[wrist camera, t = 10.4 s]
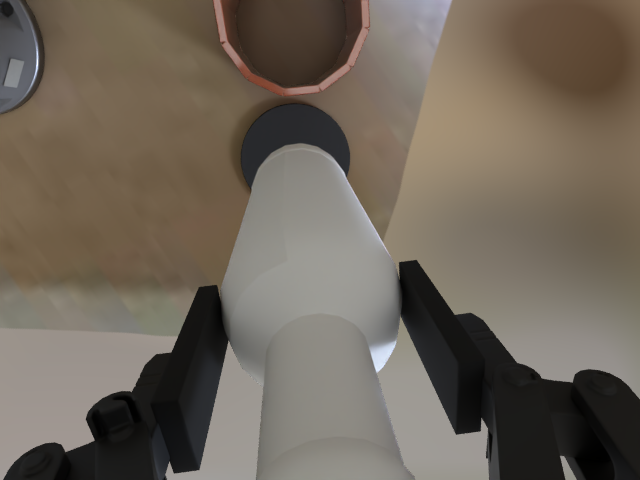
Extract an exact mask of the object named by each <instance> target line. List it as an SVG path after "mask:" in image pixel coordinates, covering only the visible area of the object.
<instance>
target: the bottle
mask: <svg viewBox="0 0 640 480" xmlns="http://www.w3.org/2000/svg"><path fill="white" fill-rule="evenodd" d="M220 294H221V314H222V321H223V325H224V329H225V332H226V335H227V337H228V339H229V342H230V344H231V347H232V349H233V351H234V353H235V355H236V357H237V359H238V361H239V363H240V365H241V367H242V369H243V370H244V371H245V372H246V373H248V374H249V375H250V376H251V377H252V378H253V379H254V380H255V381H256V382H258V384H260V385H261V386H263V401H262V412H261V424H260V437H259V450H258V462H257V475H256V480H415V478H414V476H413V475H412V474H411V472H410V471H409V470H408V469H407V468H406V467H405V466H404V463H403V460H402V456H401V453H400V450H399V447H398V443H397V440H396V436H395V433H394V430H393V426H392V423H391V420H390V416H389V413H388V409H387V406H386V403H385V399H384V396H383V393H382V389H381V386H380V383H379V379H378V376H377V372H378V371H379V370H381V369H382V368H383V366H384V365H385V363H386V361H387V360H388V358H389V356H390V354H391V353H392V351H393V349H394V347H395V346H396V341H397V335H398V329H399V321H400V314H401V307H402V288H401V284H400V280H399V276H398V273H397V269H396V265H395V263H394V261H393V259H392V258H391V256H390V254H389V253H388V251H387V249H386V247H385V245H384V244H383V242H382V240H381V238H380V237H379V235H378V233H377V231H376V230H375V228H374V226H373V224H372V223H371V221H370V219H369V217H368V216H367V214H366V212H365V211H364V209H363V207H362V205H361V204H360V202H359V200H358V198H357V197H356V195H355V193H354V191H353V190H352V188H351V186H350V184H349V183H348V181H347V179H346V176H345V173H344V171H343V170H342V169H341V167H340V166H339V165H338V163H337V162H336V161H335V159H334V158H333V157H332V156H331V155H330V154H328V153H326V152H325V151H323V150H322V149H320V148H319V147H317V146H312V145H308V144H303V143H299V144H292V145H285V146H283V147H282V148H280V149H278V150H276V151H274V152H272V153H271V154H270V155H269V156H268V157H267V158H266V160H265V161H264V162H263V163H262V164H261V166H260V167H259V169H258V171H257V174H256V176H255V179H254V182H253V185H252V192H251V195H250V198H249V202H248V205H247V208H246V211H245V214H244V217H243V221H242V224H241V227H240V230H239V233H238V236H237V239H236V243H235V246H234V249H233V252H232V255H231V258H230V261H229V265H228V268H227V271H226V274H225V277H224V280H223V284H222V287H221V290H220Z"/></svg>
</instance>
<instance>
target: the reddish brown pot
mask: <svg viewBox="0 0 640 480" xmlns="http://www.w3.org/2000/svg"><path fill="white" fill-rule="evenodd" d="M342 1H343V3H344V5H345V20H346V35H347V37H346V40H345V42H344V44H343V47H342V49H341V51H340V54H339V56H338V58H337V61H336V63H335V65H334V66H333V67H332V68H331V69H329V70H328V71H327V72H325V73H324V74H323V75H322V76H320V77H319V78H318V79H316V80H315V81H314V82H312V83H306V84H296V85H287V86H284V85H282V84H280V83H278V82H276V81H274V80H272V79H269V78H267V77H265V76H263V75H261V74H259V73H258V72H257V70H256V69H255V68H254V66H253V65H252V63H251V62H250V61H249V59H248V58H247V57H246V55H245V54H244V52H243V51H242V50H241V48H240V42H239V36H238V29H237V23H236V17H235V15H236V12H237V9H238V6H239V3H240V0H213V5H214V11H215V17H216V23H217V28H218V34H219V40H220V43H222V45H221V46H222V47H223V49H224V50H225V51H226V53H227V54H228V55H229V57H230V58H231V59H232V61H233V62H234V63H235V65H236V66H237V68H238V69H239V70H240V72H241V73H242V74H243V76H244V77H245V78H248V81H250V82H253V83H255V84H257V85H259V86H261V87H263V88H265V89H267V90H270V91H272V92H274V93H276V94H278V95H280V96H282V95H283V94H284V96H293V95H303V94H312V93H319V92H320V91H324V90H325V89H326V88H328V87H329V86H330V85H331V84H333V83H334V82H335V81H337V80H338V79H339V78H341V77H342V76H343V75H344V74H346V73H347V72H348V71H350V70H351V67H353V66H354V64H355V62H356V59H357V57H358V55H359V53H360V50H361V48H362V46H363V43H364V41H365V39H366V37H367V34H368V32H369V29H367V28H369V27H370V18H369V0H342Z"/></svg>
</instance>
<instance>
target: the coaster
mask: <svg viewBox="0 0 640 480" xmlns="http://www.w3.org/2000/svg"><path fill="white" fill-rule="evenodd" d="M299 143H303V144H308V145H312V146H317V147H319V148H320V149H322V150H323V151H325V152H326V153H328V154H330V155H331V156H332V157H333V158H334V159H335V161H336V162H337V163H338V165H339V166H340V167H341V169H342V170H343V171H344V173H345V176H346V177H347V175H348V171H349V165H350V152H349V146H348V143H347V140H346V137H345V135H344V133H343V131H342V130H341V128H340V127H339V125H338V124H337V123H336V122H335V121H334V120H333V119H332V118H331V117H330V116H329V115H328V114H326V113H325V112H323V111H321V110H320V109H318V108H315V107H313V106H309V105H305V104H297V103H295V104H285V105H280V106H277V107H274V108H272V109H270V110H268V111H267V112H265V113H264V114H262V115H261V116H260V117H259V118H258V119H257V120H256V121H255V122H254V123H253V124H252V126H251V127H250V129H249V130H248V132H247V134H246V136H245V138H244V142H243V145H242V151H241V165H242V170H243V174H244V177H245V179H246V182H247V183H248V185H249V187H250V188H251V190H252V185H253V182H254V179H255V176H256V174H257V171H258V169H259V167H260V166H261V164H262V163H263V162H264V161H265V160H266V158H267V157H268V156H269V155H270V154H271V153H272V152H274V151H276V150H278V149H280V148H282V147H283V146H285V145H292V144H299Z"/></svg>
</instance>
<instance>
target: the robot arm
mask: <svg viewBox="0 0 640 480" xmlns="http://www.w3.org/2000/svg"><path fill="white" fill-rule="evenodd" d="M43 68H44V47H43V41H42V37H41V33H40V30H39V27H38V24H37V22H36V19H35V17H34V15H33V13H32V11H31V9H30V8H29V6H28V5H27V3H26V1H25V0H0V114H3V113H7V112H9V111H12V110H14V109H16V108H18V107H20V106H21V105H23V104H24V103H25V102H26V101H27V100H28V99H29V98H30V97H31V96H32V95H33V93H34V92H35V90H36V89H37V87H38V85H39V83H40V80H41V77H42V73H43ZM399 274H400V275H399V276H400V284H401V288H402V307H401V318H402V320H403V322H404V324H405V326H406V328H407V331H408V333H409V335H410V337H411V339H412V341H413V343H414V346H415V348H416V350H417V352H418V354H419V356H420V358H421V361H422V363H423V365H424V367H425V369H426V371H427V373H428V376H429V378H430V380H431V382H432V384H433V386H434V388H435V391H436V393H437V395H438V397H439V399H440V401H441V403H442V406H443V408H444V410H445V412H446V414H447V416H448V418H449V421H450V423H451V425H452V427H453V429H454V431H455V433H456V435H457V434H464V433H471V432H478V431H481V417H482V419H483V421H484V422H485V424H486V426H487V428H488V438H487V451H486V458H488V463H489V480H565V476H564V472H563V467H562V463H561V459H560V456H565V458H566V460H567V462H568V464H569V466H570V468H571V470H572V471H573V473H574V475H575V477H576V479H577V480H640V399H639V398H638V397H637V396H636V394H635V393H634V392H633V391H632V390H631V389H630V387H629V386H628V385H627V384H626V383H624V382H623V381H622V380H621V379H619V378H618V377H616V376H614V375H612V374H610V373H606V372H603V371H600V370H591V369H588V370H582V371H579V372H578V373H576V374H575V376H574V380H573V383H571V382H562V381H553V380H547V379H542V378H541V376H540V375H539V374H538V373H537V372H536V371H535V370H534V369H532V368H530V367H528V366H526V365H523V364H519V363H517V362H516V361H515V360H514V358H513V357H512V356H511V355H510V353H509V352H508V351H507V350H506V348H505V347H504V346H503V345H502V343H501V342H500V341H499V340H498V338H496V336H495V335H494V333H493V332H492V331H490V329H489V327H488V326H487V324H486V323H485V322H484V321H483V320H482V319H480V318H479V317H477V316H476V315H474V314H472V313H466V314H458V315H454V313H453V312H452V310H451V309H450V308H449V306H448V305H447V303H446V302H445V300H444V299H443V297H442V296H441V295H440V293H439V292H438V290H437V289H436V288H435V286H434V284H433V283H432V282H431V280H430V279H429V277H428V276H427V274H426V273H425V272H424V270H423V269H422V267H421V266H420V264H419V263H418V261H417V260H413V261H405V262H399ZM228 340H229V339H228V337H227V335H226V332H225V329H224V325H223V321H222V314H221V300H220V296H219V292H218V287H217V285H212V286H204V287H199V288H198V291H197V293H196V296H195V298H194V300H193V303H192V305H191V307H190V310H189V312H188V315H187V317H186V319H185V322H184V324H183V326H182V329H181V331H180V334H179V336H178V338H177V341H176V343H175V346H174V348H173V350H172V352H171V353H163V354H156V355H155V356H154V357H153V358H152V359H151V360H150V361H149V362H148V363H147V364H146V365H145V366H144V368H143V370H142V372H141V374H140V378H139V379H138V381H137V383H136V387H134V389H133V391H132V392H130V391H121V392H117V393H113V394H111V395H109V396H107V397H105V398H102V399H101V400H100V401H99V402H97V403H96V404H95V405H94V406H93V407H92V408H91V409H90V410H89V412H88V414H87V417H86V421H87V423H88V426H89V428H90V430H91V432H92V435H93V437H94V439H95V441H93V442H91V443H89V444H86V445H84V446H81V447H78V448H76V449H73V450H71V451H68V452H65V450H64V449H63V447H62V445H61V444H58V443H45V444H43V445H40V446H37V447H35V448H33V449H31V450H30V451H28V452H26V453H25V454H23V455H22V456H21V457H20V458H19V459H18V460H16V461H15V462H14V464H13V465H12V466H11V468H10V469H9V470H8V472H7V474H6V476H5V477H4V479H3V480H167V479H166V476H165V473H166V470H167V467H168V464H169V461H170V464H171V466H172V469H173V472H174V473H181V472H189V471H196V470H199V469H200V465H201V460H202V456H203V452H204V447H205V442H206V438H207V433H208V429H209V425H210V420H211V416H212V412H213V407H214V403H215V398H216V394H217V389H218V385H219V380H220V376H221V372H222V367H223V363H224V358H225V354H226V349H227V344H228Z"/></svg>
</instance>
